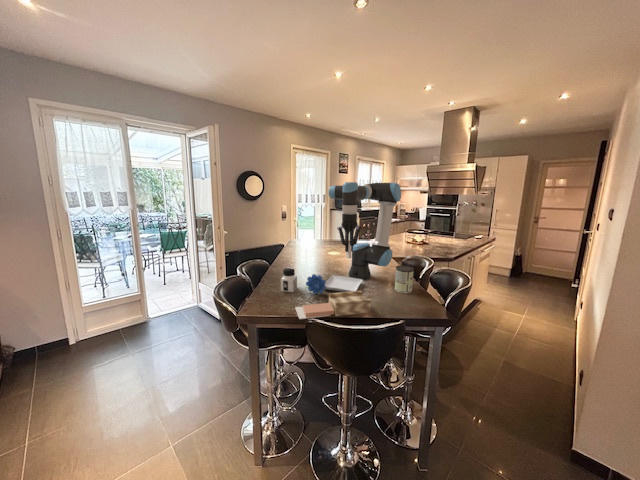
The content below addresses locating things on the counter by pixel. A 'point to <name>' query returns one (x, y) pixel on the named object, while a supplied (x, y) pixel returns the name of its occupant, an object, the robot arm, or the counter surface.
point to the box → (349, 303)
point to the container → (288, 280)
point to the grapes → (316, 284)
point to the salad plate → (342, 283)
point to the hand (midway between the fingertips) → (348, 257)
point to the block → (318, 309)
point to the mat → (302, 315)
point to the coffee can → (404, 279)
